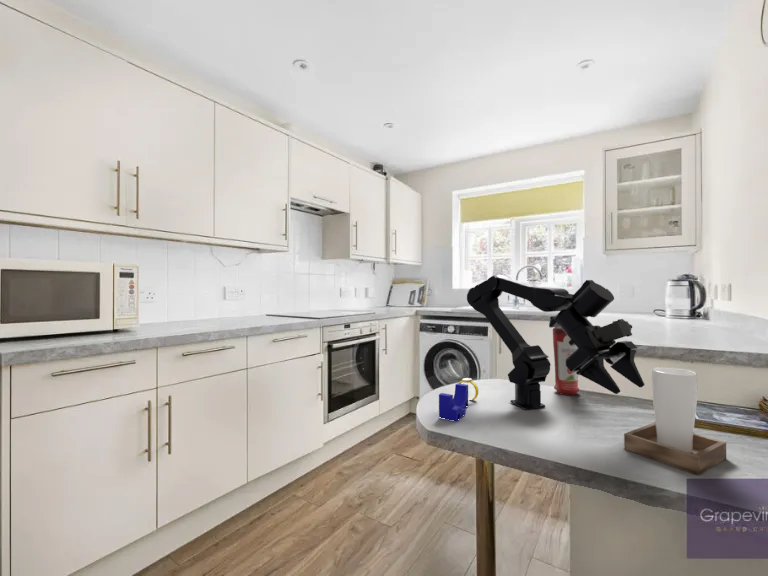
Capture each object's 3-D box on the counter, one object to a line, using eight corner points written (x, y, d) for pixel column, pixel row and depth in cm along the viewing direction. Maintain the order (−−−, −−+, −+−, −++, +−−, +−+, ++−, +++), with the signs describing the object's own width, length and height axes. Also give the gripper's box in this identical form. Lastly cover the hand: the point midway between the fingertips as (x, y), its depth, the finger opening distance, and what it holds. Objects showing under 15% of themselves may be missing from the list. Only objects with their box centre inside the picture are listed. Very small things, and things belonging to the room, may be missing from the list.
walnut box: (624, 448, 71) (624, 433, 71) (654, 436, 77) (654, 422, 77) (697, 475, 61) (697, 457, 61) (726, 458, 67) (726, 442, 67)
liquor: (574, 389, 112) (574, 298, 112) (584, 397, 105) (584, 299, 105) (549, 389, 113) (548, 298, 113) (557, 396, 106) (557, 299, 106)
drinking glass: (694, 461, 65) (693, 377, 65) (648, 449, 70) (647, 370, 70) (700, 450, 69) (700, 370, 69) (656, 439, 74) (656, 365, 74)
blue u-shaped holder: (456, 422, 87) (456, 397, 87) (438, 419, 89) (438, 394, 89) (473, 408, 97) (473, 385, 97) (457, 405, 99) (457, 383, 99)
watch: (456, 400, 104) (454, 379, 104) (459, 397, 106) (458, 377, 106) (476, 402, 101) (475, 380, 101) (479, 399, 103) (478, 378, 103)
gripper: (578, 308, 76) (637, 373, 66) (628, 305, 85) (685, 362, 75) (545, 341, 83) (593, 404, 73) (594, 335, 92) (643, 390, 82)
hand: (630, 389), depth 76 cm, fingers open, 9 cm apart
